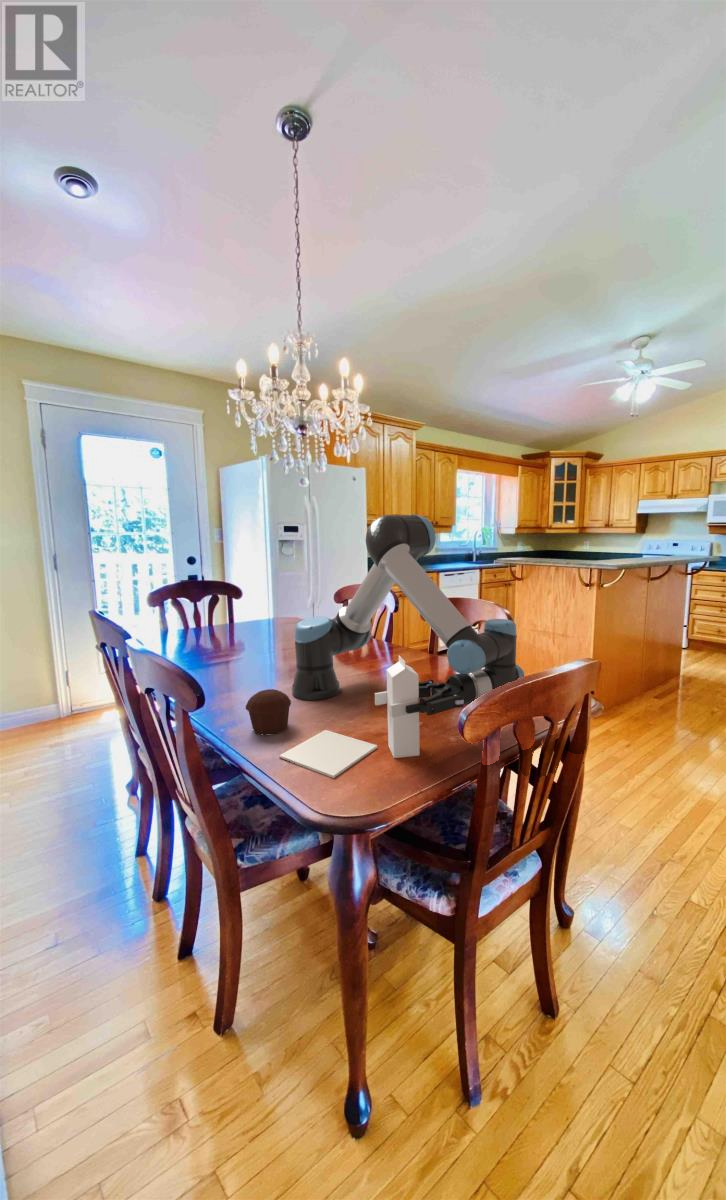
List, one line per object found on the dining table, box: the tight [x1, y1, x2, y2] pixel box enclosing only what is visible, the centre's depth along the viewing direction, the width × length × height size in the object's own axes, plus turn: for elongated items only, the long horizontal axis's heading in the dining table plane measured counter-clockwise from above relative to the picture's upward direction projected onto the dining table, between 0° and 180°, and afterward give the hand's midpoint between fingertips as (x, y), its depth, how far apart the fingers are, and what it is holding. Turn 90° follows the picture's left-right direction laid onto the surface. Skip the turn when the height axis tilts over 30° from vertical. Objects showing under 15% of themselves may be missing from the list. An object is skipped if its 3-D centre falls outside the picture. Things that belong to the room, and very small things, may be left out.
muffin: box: [245, 688, 292, 736], centre depth 120 cm, size 12×11×10 cm
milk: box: [386, 655, 421, 759], centre depth 104 cm, size 6×6×22 cm
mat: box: [278, 729, 378, 779], centre depth 106 cm, size 16×16×1 cm
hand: (383, 705), depth 102 cm, fingers closed on milk, 7 cm apart
